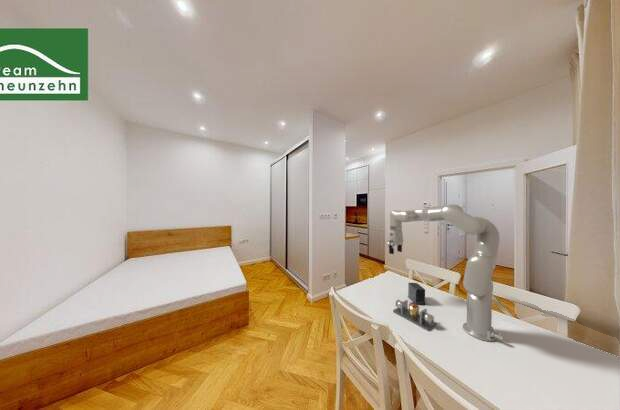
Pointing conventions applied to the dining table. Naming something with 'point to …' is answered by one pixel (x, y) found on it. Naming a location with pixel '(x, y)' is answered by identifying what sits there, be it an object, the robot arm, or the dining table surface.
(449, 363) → the dining table surface
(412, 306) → the valve
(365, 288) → the dining table surface
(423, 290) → the small box
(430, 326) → the grey bar with knobs
